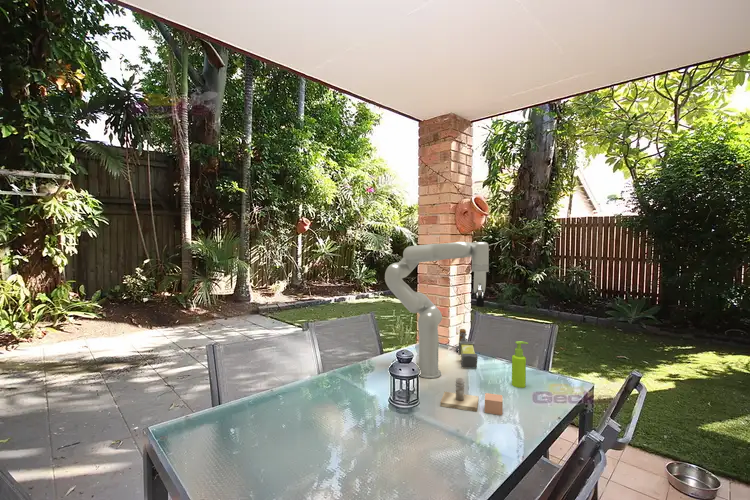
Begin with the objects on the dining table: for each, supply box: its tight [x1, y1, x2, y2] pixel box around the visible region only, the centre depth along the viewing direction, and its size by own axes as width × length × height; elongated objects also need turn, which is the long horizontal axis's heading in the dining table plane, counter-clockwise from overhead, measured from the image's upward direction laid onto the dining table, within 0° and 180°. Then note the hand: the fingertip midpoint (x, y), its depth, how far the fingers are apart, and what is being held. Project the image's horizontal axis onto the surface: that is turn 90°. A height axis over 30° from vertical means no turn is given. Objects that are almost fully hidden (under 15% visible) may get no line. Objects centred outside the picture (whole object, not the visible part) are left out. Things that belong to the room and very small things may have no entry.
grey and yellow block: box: [455, 328, 479, 368], centre depth 199 cm, size 8×17×30 cm
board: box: [439, 377, 479, 412], centre depth 144 cm, size 14×11×10 cm
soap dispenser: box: [511, 340, 529, 389], centre depth 162 cm, size 6×7×20 cm
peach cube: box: [484, 392, 504, 416], centre depth 137 cm, size 6×6×5 cm
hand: (480, 304), depth 166 cm, fingers open, 9 cm apart
